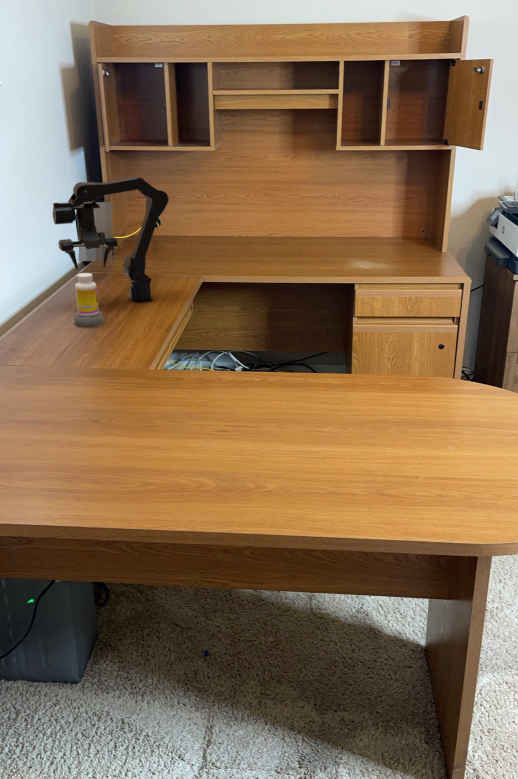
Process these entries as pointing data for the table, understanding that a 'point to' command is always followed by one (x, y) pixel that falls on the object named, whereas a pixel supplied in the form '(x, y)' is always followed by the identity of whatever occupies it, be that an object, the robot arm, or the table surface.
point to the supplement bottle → (86, 295)
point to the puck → (88, 320)
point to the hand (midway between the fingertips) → (90, 268)
